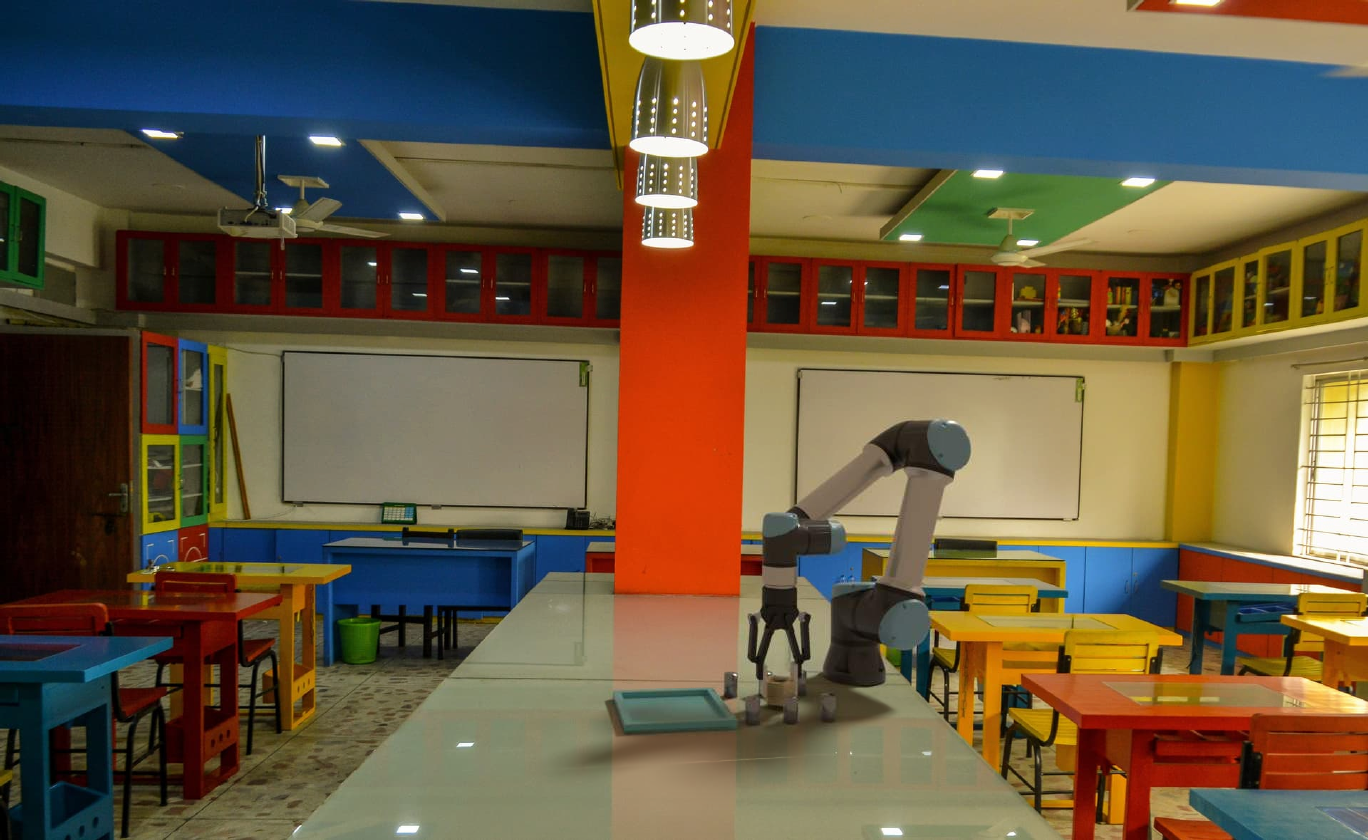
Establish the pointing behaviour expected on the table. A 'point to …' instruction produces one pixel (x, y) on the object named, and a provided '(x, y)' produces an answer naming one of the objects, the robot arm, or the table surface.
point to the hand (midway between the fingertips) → (778, 693)
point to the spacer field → (788, 701)
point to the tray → (672, 710)
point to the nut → (778, 689)
